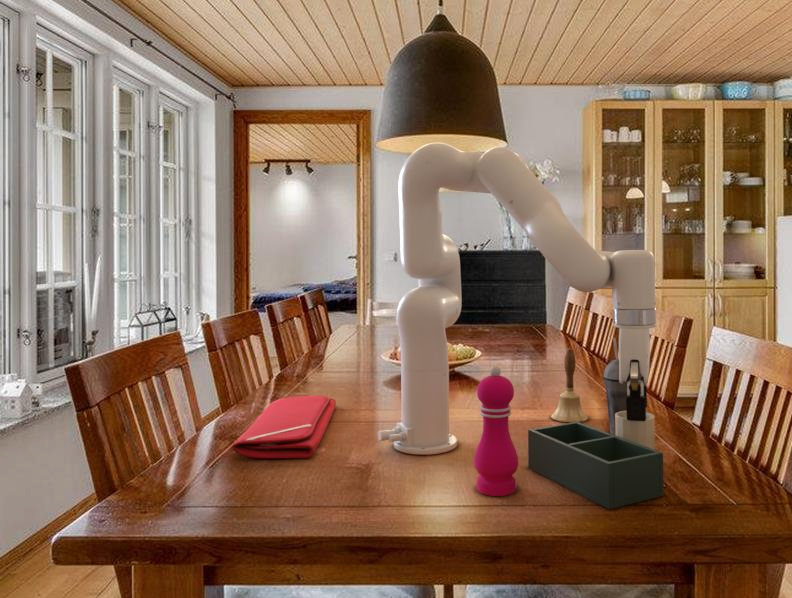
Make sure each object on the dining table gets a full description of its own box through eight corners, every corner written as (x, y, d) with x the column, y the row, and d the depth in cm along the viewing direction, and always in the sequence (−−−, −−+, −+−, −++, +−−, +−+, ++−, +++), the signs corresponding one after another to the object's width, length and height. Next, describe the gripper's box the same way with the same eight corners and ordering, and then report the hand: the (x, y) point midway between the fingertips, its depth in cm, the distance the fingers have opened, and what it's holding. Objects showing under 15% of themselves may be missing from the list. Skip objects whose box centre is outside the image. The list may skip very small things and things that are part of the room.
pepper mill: (505, 501, 102) (504, 371, 102) (465, 492, 106) (464, 367, 106) (526, 486, 108) (525, 364, 108) (487, 478, 112) (486, 360, 112)
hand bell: (593, 416, 153) (592, 347, 153) (579, 424, 146) (579, 352, 146) (560, 412, 157) (559, 344, 157) (545, 419, 150) (544, 349, 150)
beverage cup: (640, 438, 135) (639, 340, 135) (603, 436, 136) (602, 340, 136) (637, 429, 142) (636, 336, 142) (603, 427, 143) (602, 335, 144)
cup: (634, 474, 114) (633, 421, 114) (607, 462, 120) (607, 413, 120) (663, 467, 117) (662, 416, 117) (636, 457, 123) (635, 408, 123)
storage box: (609, 509, 99) (608, 463, 99) (528, 467, 117) (528, 429, 118) (663, 496, 104) (663, 452, 104) (577, 458, 123) (577, 421, 123)
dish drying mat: (337, 406, 164) (337, 391, 164) (315, 458, 123) (315, 438, 123) (273, 408, 163) (273, 393, 163) (229, 461, 122) (229, 441, 122)
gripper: (616, 313, 128) (618, 402, 128) (609, 323, 112) (612, 425, 111) (656, 313, 126) (659, 403, 126) (656, 323, 109) (659, 427, 109)
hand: (637, 413), depth 118 cm, fingers open, 9 cm apart
